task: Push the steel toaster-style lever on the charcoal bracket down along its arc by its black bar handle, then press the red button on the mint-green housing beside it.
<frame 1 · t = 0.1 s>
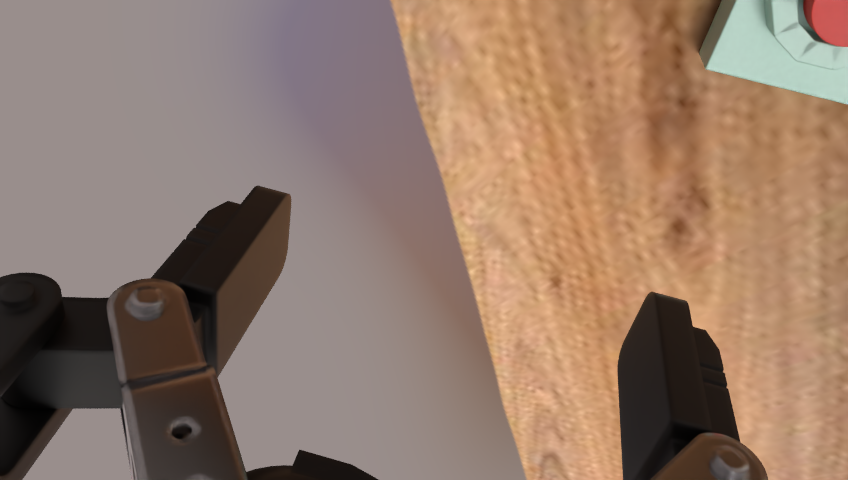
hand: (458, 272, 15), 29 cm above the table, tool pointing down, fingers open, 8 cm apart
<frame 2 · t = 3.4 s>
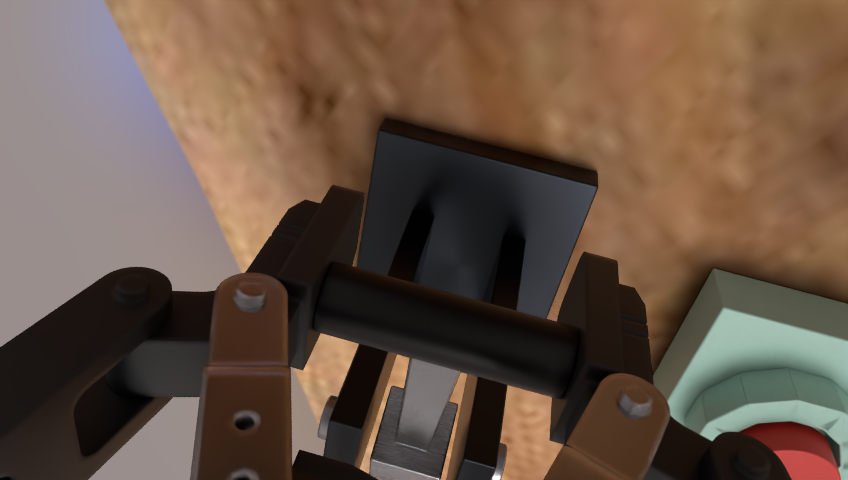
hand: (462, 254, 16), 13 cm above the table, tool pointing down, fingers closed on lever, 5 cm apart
button box: (757, 381, 32), on the table
bracket: (462, 249, 31), on the table
button: (780, 467, 28), point 5 cm above the table, slide at 0.1 cm
lever: (423, 402, 18), point 13 cm above the table, hinge at 24.9°, touching gripper
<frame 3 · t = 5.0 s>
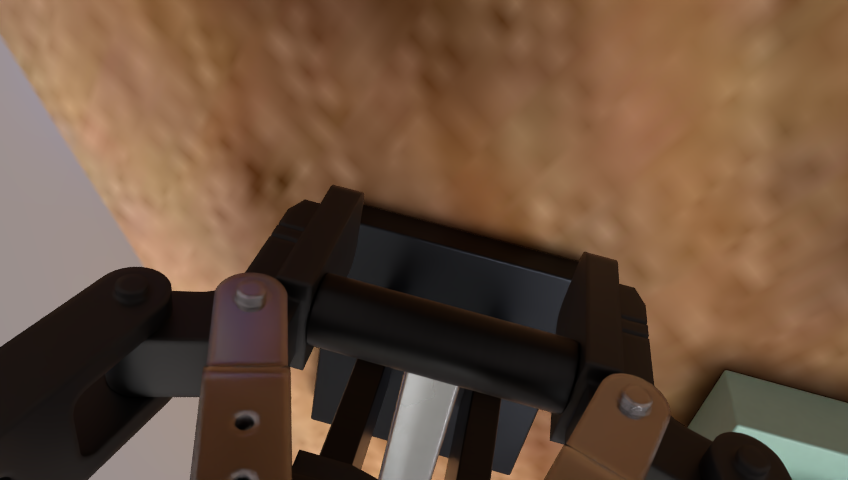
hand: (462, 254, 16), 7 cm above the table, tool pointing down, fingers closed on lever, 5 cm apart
bracket: (438, 340, 27), on the table
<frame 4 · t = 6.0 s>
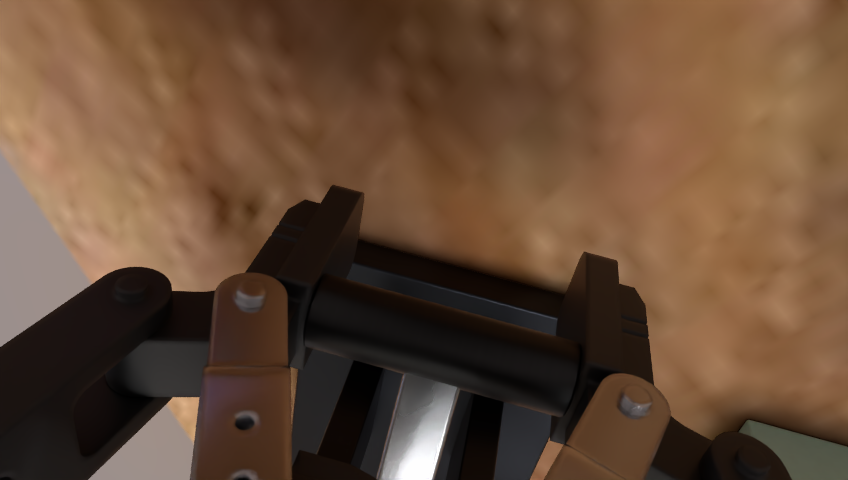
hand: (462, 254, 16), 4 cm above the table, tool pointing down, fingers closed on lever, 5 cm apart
bracket: (427, 382, 25), on the table
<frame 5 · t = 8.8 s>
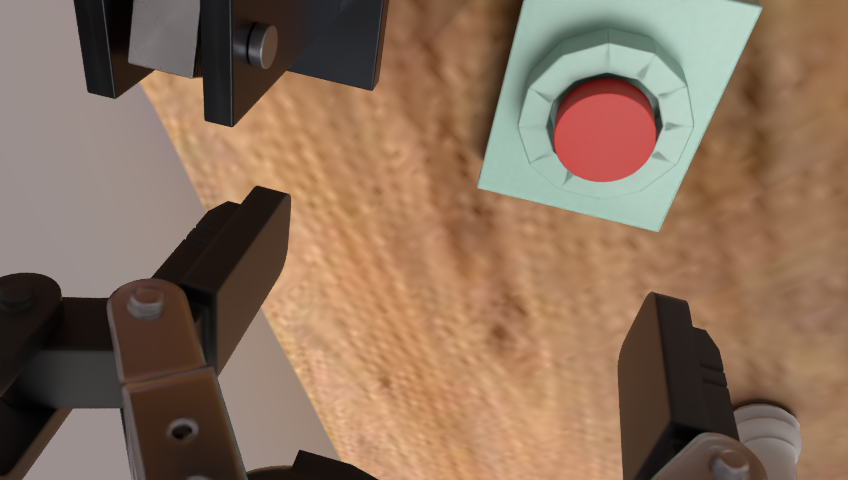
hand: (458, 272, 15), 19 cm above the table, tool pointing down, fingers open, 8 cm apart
button box: (601, 84, 32), on the table
button: (603, 131, 28), point 5 cm above the table, slide at 0.1 cm
rook chess piece: (757, 421, 42), on the table
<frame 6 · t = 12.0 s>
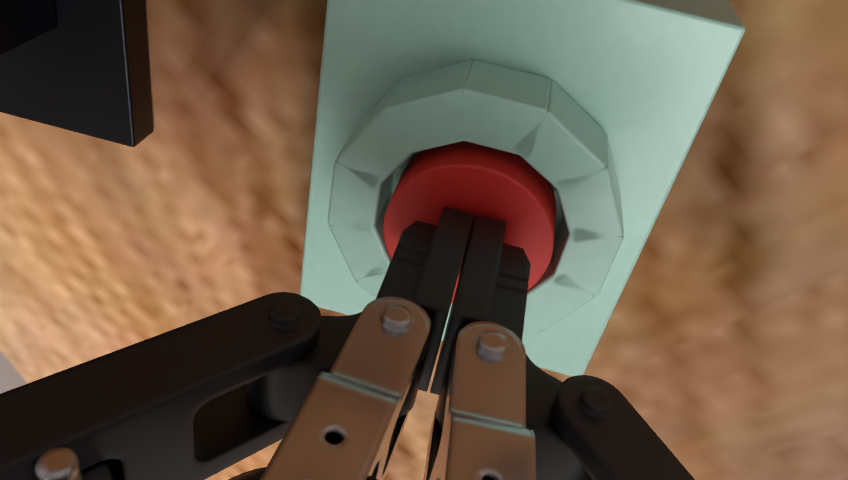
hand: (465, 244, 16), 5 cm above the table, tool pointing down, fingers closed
button box: (490, 145, 20), on the table
button: (470, 223, 16), point 4 cm above the table, slide at -0.6 cm, touching gripper
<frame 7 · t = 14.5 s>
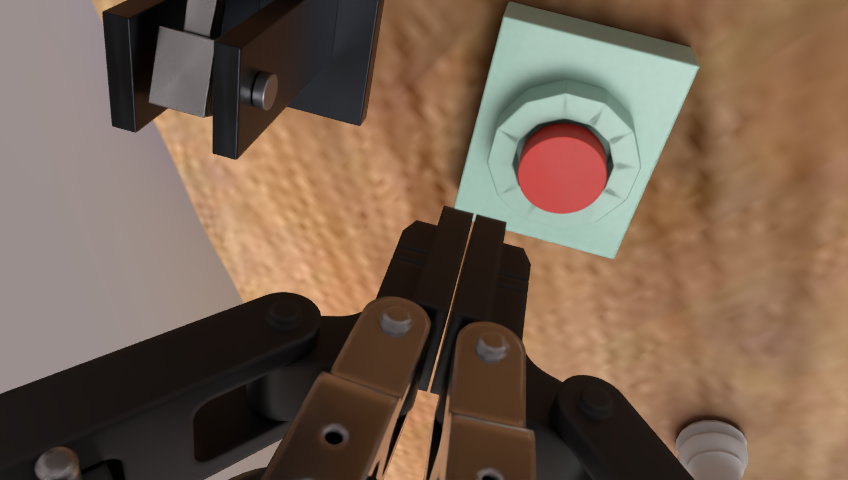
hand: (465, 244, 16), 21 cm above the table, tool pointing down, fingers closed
button box: (564, 126, 36), on the table
button: (562, 168, 32), point 5 cm above the table, slide at 0.1 cm
rook chess piece: (709, 437, 46), on the table
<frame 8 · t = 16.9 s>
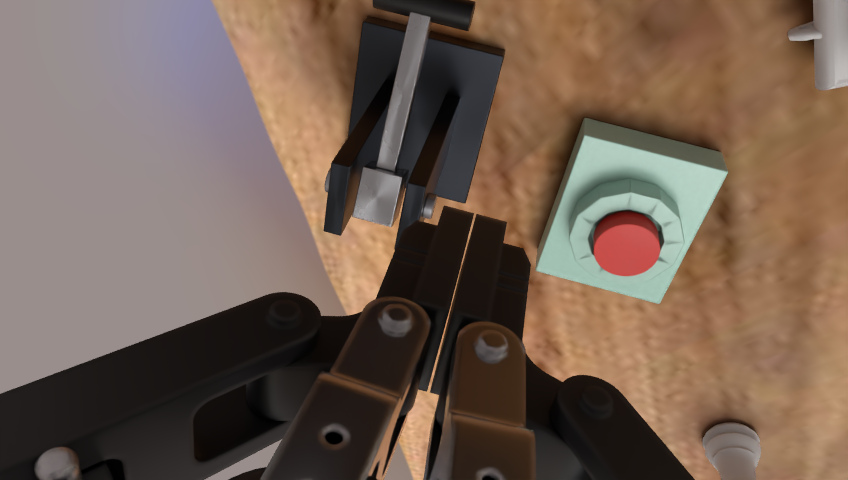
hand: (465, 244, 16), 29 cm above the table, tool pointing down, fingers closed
button box: (622, 204, 47), on the table
bracket: (420, 111, 46), on the table
button: (626, 244, 43), point 5 cm above the table, slide at 0.1 cm
rook chess piece: (729, 435, 57), on the table
lever: (400, 108, 36), point 9 cm above the table, hinge at -20.1°
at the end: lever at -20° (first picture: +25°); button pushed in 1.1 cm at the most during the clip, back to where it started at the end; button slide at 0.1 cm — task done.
